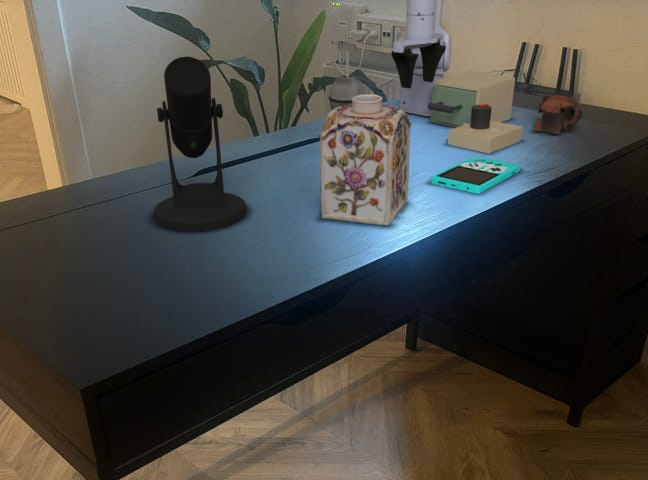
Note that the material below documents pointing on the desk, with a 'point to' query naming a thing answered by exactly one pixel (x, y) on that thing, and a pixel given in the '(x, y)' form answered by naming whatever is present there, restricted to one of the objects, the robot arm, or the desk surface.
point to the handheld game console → (475, 174)
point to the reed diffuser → (345, 88)
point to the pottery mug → (557, 114)
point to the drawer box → (484, 92)
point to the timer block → (485, 137)
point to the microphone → (194, 151)
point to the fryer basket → (452, 104)
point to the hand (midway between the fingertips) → (417, 84)
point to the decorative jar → (364, 161)
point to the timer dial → (480, 116)
